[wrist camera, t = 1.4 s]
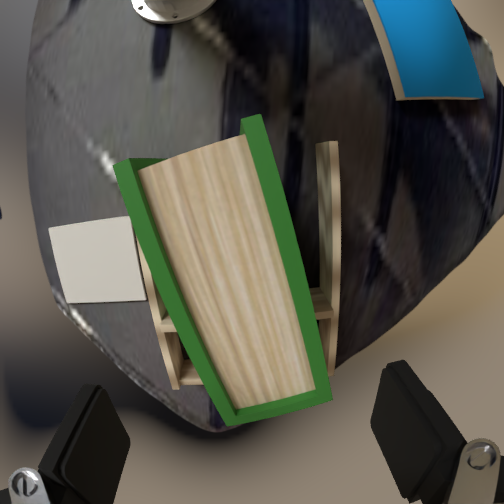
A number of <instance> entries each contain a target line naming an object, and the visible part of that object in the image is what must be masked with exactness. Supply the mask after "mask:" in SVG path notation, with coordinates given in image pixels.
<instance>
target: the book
mask: <svg viewBox="0 0 504 504" xmlns="http://www.w3.org/2000/svg"><path fill="white" fill-rule="evenodd" d="M363 1H364V4H365V6H366V8H367V11H368V13H369V16H370V18H371V21H372V24H373V26H374V29H375V32H376V34H377V37H378V40H379V43H380V46H381V49H382V52H383V55H384V58H385V61H386V65H387V68H388V71H389V75H390V78H391V82H392V85H393V89H394V93H395V97H396V100H419V99H462V100H476V99H482V98H484V95H483V91H482V87H481V83H480V79H479V76H478V72H477V69H476V65H475V62H474V59H473V56H472V53H471V50H470V47H469V44H468V41H467V38H466V36H465V33H464V30H463V28H462V25H461V23H460V20H459V18H458V15H457V13H456V11H455V9H454V6H453V4H452V2H451V0H363Z"/></svg>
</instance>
